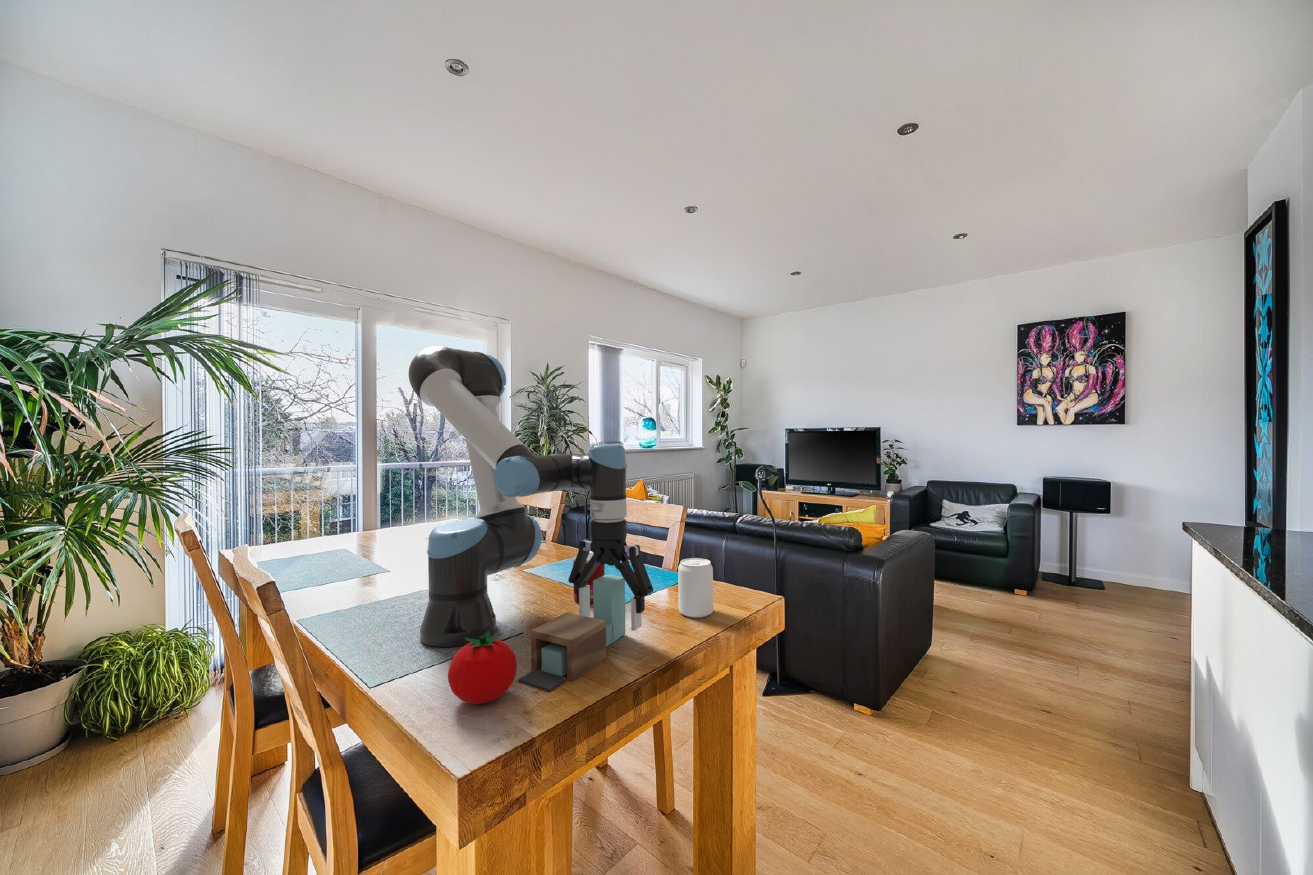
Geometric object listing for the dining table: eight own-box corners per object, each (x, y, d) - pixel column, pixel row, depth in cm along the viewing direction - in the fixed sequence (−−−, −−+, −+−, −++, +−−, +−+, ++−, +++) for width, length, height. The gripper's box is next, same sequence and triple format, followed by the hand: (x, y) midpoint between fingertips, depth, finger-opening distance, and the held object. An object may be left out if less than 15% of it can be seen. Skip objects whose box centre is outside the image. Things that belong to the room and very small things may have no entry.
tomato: (437, 719, 74) (436, 652, 74) (461, 683, 84) (460, 625, 84) (508, 716, 74) (507, 649, 74) (523, 681, 85) (522, 623, 84)
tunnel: (531, 668, 89) (531, 630, 89) (567, 647, 98) (566, 612, 98) (572, 681, 84) (572, 640, 84) (606, 657, 93) (605, 620, 93)
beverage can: (711, 620, 111) (711, 567, 111) (676, 618, 113) (675, 565, 113) (714, 607, 119) (714, 558, 119) (681, 605, 121) (680, 556, 121)
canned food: (610, 597, 127) (610, 555, 127) (590, 606, 121) (590, 562, 120) (587, 592, 131) (587, 551, 131) (567, 601, 125) (566, 558, 125)
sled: (541, 670, 88) (540, 603, 88) (607, 630, 106) (607, 574, 106) (561, 676, 86) (560, 607, 85) (625, 634, 103) (624, 576, 103)
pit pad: (518, 681, 84) (518, 679, 84) (534, 671, 88) (534, 669, 88) (549, 691, 81) (549, 689, 81) (565, 680, 85) (565, 678, 85)
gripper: (550, 517, 105) (552, 618, 105) (650, 526, 93) (652, 640, 93) (573, 512, 111) (574, 607, 112) (669, 520, 100) (670, 626, 100)
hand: (609, 622), depth 102 cm, fingers open, 12 cm apart
